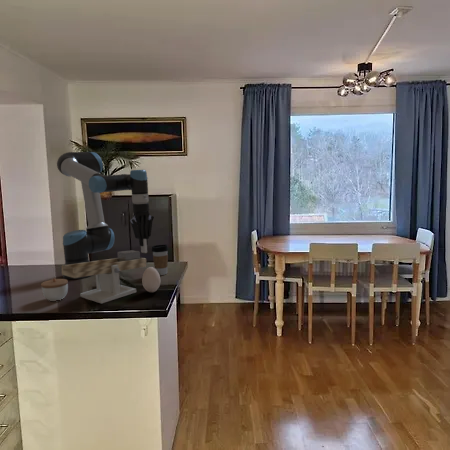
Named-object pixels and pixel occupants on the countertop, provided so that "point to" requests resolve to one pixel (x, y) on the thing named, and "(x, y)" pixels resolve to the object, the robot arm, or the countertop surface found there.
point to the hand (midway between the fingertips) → (144, 252)
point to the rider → (128, 255)
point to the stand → (108, 287)
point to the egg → (151, 279)
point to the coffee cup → (160, 258)
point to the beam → (100, 267)
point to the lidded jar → (55, 289)
